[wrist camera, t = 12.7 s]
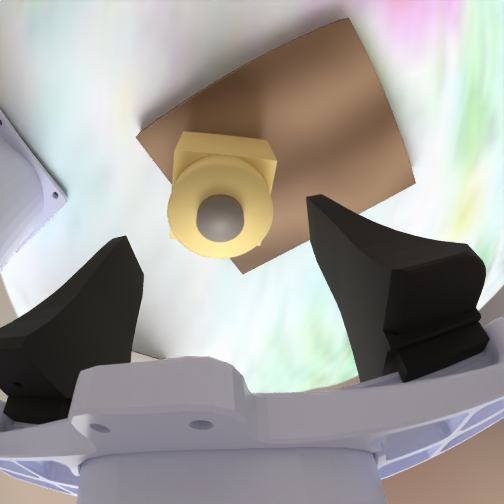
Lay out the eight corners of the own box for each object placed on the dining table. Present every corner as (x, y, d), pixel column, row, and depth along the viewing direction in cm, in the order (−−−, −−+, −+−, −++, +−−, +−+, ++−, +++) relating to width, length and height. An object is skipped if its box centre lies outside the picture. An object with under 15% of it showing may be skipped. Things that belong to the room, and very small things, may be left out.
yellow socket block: (253, 212, 20) (264, 269, 15) (178, 206, 19) (164, 262, 14) (267, 140, 17) (285, 177, 13) (183, 131, 16) (167, 165, 12)
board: (140, 132, 18) (135, 137, 17) (341, 19, 15) (348, 17, 14) (241, 264, 24) (242, 274, 23) (408, 176, 21) (415, 183, 20)
